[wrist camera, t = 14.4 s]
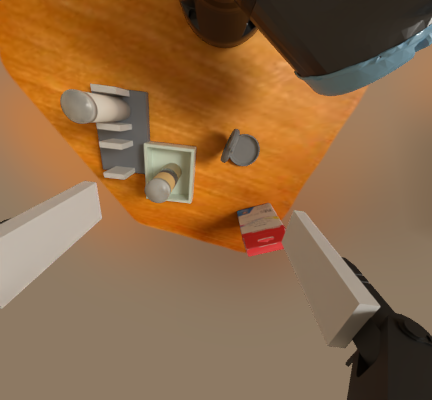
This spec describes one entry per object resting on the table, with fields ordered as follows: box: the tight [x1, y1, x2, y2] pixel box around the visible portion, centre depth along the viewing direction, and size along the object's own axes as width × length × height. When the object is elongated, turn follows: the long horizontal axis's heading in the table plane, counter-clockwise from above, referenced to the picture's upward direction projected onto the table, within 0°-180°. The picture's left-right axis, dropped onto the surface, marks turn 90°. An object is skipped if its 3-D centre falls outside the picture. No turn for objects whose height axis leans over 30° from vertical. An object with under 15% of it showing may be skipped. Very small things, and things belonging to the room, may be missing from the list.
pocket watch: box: [221, 129, 260, 166], centre depth 35 cm, size 8×8×10 cm
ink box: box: [237, 203, 286, 256], centre depth 40 cm, size 8×5×15 cm, turn 107°
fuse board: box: [90, 84, 150, 180], centre depth 36 cm, size 16×10×6 cm, turn 173°
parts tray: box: [144, 141, 196, 203], centre depth 40 cm, size 12×10×4 cm
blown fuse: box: [145, 163, 182, 203], centre depth 36 cm, size 4×4×12 cm
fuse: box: [61, 89, 131, 124], centre depth 30 cm, size 4×4×12 cm
